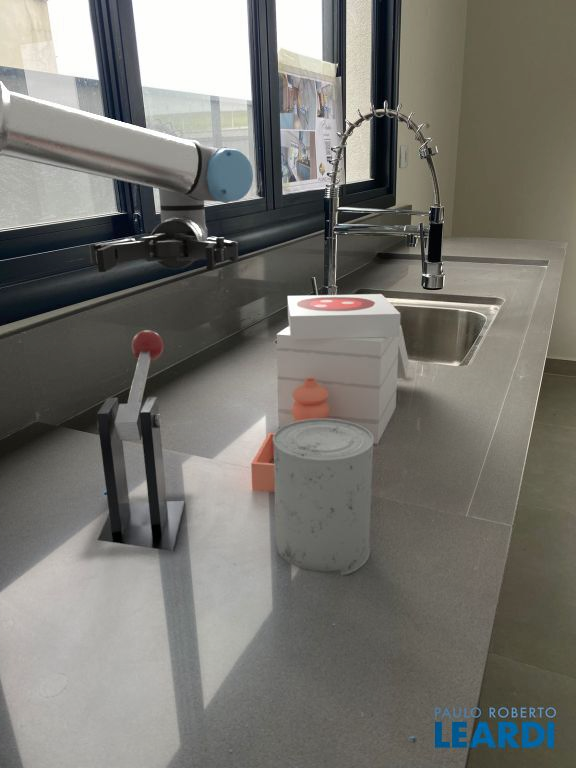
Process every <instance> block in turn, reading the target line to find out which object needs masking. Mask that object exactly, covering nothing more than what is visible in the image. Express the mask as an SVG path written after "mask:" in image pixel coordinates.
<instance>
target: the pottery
mask: <svg viewBox="0 0 576 768" xmlns="http://www.w3.org/2000/svg"><path fill="white" fill-rule="evenodd" d="M304 382H305V385H302V386H299V387H297V388H296V389H295V390H294V391H293V398H294V399H295V402H294V404H293V405H292V415H293V416H294V418H295V420H294V421H293V422H296V421H300V420H306V419H326V418H327V417H328V415H329V412H330V408H329V405H328V403H327V402H326V399H327V398H328V396H329V395H328V391H327V390H326V389H325V388H324V387H322V386H320V385H316V382H317V380H316V379H315V378H306V379H305V380H304ZM274 434H275V432H268V433H267V435H266V437H265V438H264V440H263V441H262V443H261V446H260V447H259V449H258V451H257V452H256V454H255V456H254V458H253V459H252V462H251V463H250V466H251V467H250V469H251V486H252V487H251V490H252V491H257V492H258V491H259V492H269V493H275V481H274V462H272V463H271V461H272V460H274V444H273V435H274Z"/></svg>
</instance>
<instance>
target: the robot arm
mask: <svg viewBox="0 0 576 768" xmlns="http://www.w3.org/2000/svg"><path fill="white" fill-rule="evenodd" d="M0 156H4V157H10V158H14V159H18V160H22V161H28V162H31V163H32V162H33V163H37V164H40V165H41V164H42V165H46V166H51V167H56V168H60V169H65V170H69V171H74V172H79V173H82V174H83V173H84V174H88V175H93V176H98V177H103V178H108V179H112V180H116V181H121V182H126V183H130V184H135V185H140V186H144V187H149V188H154V189H158V194H159V196H158V197H159V204H160V205H159V209H160V210H159V211H160V212H159V214H160V223H159V224H157V226H155V228H154V229H153V230H152V232H151V234H150V236H142V237H140V238H139V240H136V239H135V238H133V237H128V238H124V239H121V240H114V241H107V242H101V243H91V244H89V254H90V262H91V264H94V265H97V268H98V273H106V272H107V271H109V270H112V268H114V267H116V266H117V263H123V262H124V263H125V262H132V261H138V260H141V261H142V262H149V263H150V262H157V263H158V264H159V265H161V266H162V267H164V268H166V269H169V270H182V269H185V268H187V267H189V266H190V265H191V264H193V262H194V261H198V260H206V262H205V263H206V270H207V271H208V270H209V271H210V270H211V271H212V270H214V268H215V266H216V264H217V262H218V263H223V262H226V260H227V261H231V262H237V261H239V249H238V242H237V241H234V240H233V241H232V240H227V239H225V237H223V236H222V237H221V236H220V237H217V236H212V235H211V236H209V232H208V228H207V226H206V214H205V201H207V202H221V203H223V204H228V203H230V202H237V201H240V200H241V199H243V198H244V197H245V196H246V195H247V194H248V193H250V190H251V188H252V185H253V180H254V171H253V166H252V164H251V161H250V160H249V158H248V157H247V156H246V154H245V153H243V152H242V151H241V150H238V149H237V148H229V147H226V146H225V147H218V148H216V147H212V146H208V145H204V144H201V143H200V142H199V141H197V140H195V139H184V138H180V137H176V136H173V135H169V134H166V133H163V132H162V133H161V132H158V131H155V130H151V129H147V128H144V127H141V126H138V125H133V124H130V123H126V122H122V121H119V120H115V119H112V118H108V117H105V116H101V115H98V114H94V113H91V112H88V111H87V112H86V111H84V110H80V109H76V108H73V107H70V106H65V105H62V104H59V103H54V102H52V101H48V100H44V99H40V98H37V97H34V96H29V95H26V94H23V93H19V92H17V91H12V90H8V88H6V86H5V85H4V84H3V82H2V81H1V80H0Z"/></svg>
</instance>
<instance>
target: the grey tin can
mask: <svg viewBox="0 0 576 768" xmlns="http://www.w3.org/2000/svg"><path fill="white" fill-rule="evenodd" d="M274 433H275V434H274V435H273V444H274V459H273V464H274V481H275V492H274V518H275V521H274V522H275V547H276V550H277V552H278V555H280V556H281V558H282V559H284V561H286V562H287V563H289V564H291V565H293V566H294V567H296V568H301V569H303V570H308V571H314V572H334V571H340V575H341V577H344V576H347V575H350V574H351V575H352V573H355V572H356V571H359V570H360V569H361V568H362V567H363V566H365V564H366V563H367V561H368V560H369V558H370V555H371V554H370V553H371V549H370V548H371V547H370V539H371V538H370V537H371V536H370V534H371V506H372V481H373V479H372V478H373V477H372V476H373V453H374V452H373V449H374V444H373V443H374V438H373V435H372V434H371V433H370V431H369V430H367V429H366V428H364V427H362V426H360V425H358V424H355V423H352V422H349V421H344V420H338V419H306V420H300V421H296V422H292V423H289V424H287V425H285V426H283V427H279V428H278V429H277V430H275V432H274Z"/></svg>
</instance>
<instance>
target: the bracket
mask: <svg viewBox="0 0 576 768" xmlns="http://www.w3.org/2000/svg"><path fill="white" fill-rule="evenodd" d="M118 407H119V399H118V397H108V398H106V400H105V402H104V403H103V404H102V406H101V407H100V408H99V410H98V412H97V413H96V418H97V428H98V434H99V443H100V450H101V458H102V459H101V460H102V466H103V475H104V483H105V491H106V499H107V506H108V515H107V517H106V520H105V522H104V524H103V526H102V529H101V531H100V533H99V535H98V537H97V541H101V542H107V543H114V544H122V545H128V546H136V547H142V548H147V549H148V548H149V549H155V550H156V549H157V550H162V551H170V552H175V551H176V547H177V542H178V538H179V533H180V529H181V524H182V520H183V516H184V511H185V507H186V501H185V500H169V501H168V500H167V489H166V477H165V464H164V455H163V445H162V433H161V428H162V424H163V422H162V421H163V420H162V414H161V413H160V410H159V399H158V396H147V398H146V400H145V402H144V404H143V405H142V409H141V411H140V421H141V431H142V437H141V440H142V449H143V459H144V460H143V461H144V470H145V480H146V491H147V499H148V500H147V501H143V502H142V501H140V502H130V496H129V488H128V486H129V485H128V478H127V470H126V460H125V451H124V443H123V440H122V441H119V440H118V436H117V432H116V428H115V424H114V422H115V418H116V415H117V411H118Z"/></svg>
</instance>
